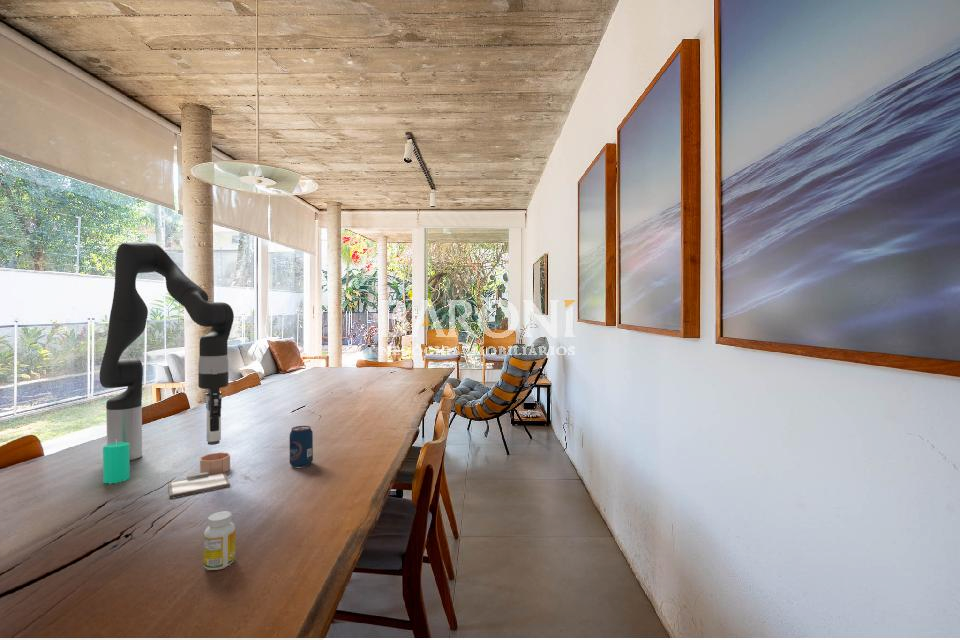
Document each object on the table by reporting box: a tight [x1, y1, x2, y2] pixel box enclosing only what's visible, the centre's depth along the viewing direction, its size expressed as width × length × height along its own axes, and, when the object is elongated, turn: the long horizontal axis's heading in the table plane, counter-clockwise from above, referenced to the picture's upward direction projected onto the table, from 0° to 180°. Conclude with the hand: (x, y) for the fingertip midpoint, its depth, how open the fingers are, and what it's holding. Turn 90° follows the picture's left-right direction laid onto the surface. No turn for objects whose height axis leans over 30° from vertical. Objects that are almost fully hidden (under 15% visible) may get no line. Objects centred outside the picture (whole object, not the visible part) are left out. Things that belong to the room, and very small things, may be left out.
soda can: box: [289, 425, 314, 468], centre depth 143 cm, size 7×7×12 cm
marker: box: [205, 402, 222, 446], centre depth 130 cm, size 4×4×12 cm
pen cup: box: [199, 452, 231, 475], centre depth 138 cm, size 8×8×4 cm
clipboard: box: [168, 472, 231, 499], centre depth 126 cm, size 11×14×2 cm
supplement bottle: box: [203, 510, 236, 569], centre depth 87 cm, size 5×5×10 cm
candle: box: [102, 439, 131, 484], centre depth 130 cm, size 6×6×12 cm
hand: (213, 429), depth 130 cm, fingers closed on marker, 3 cm apart
